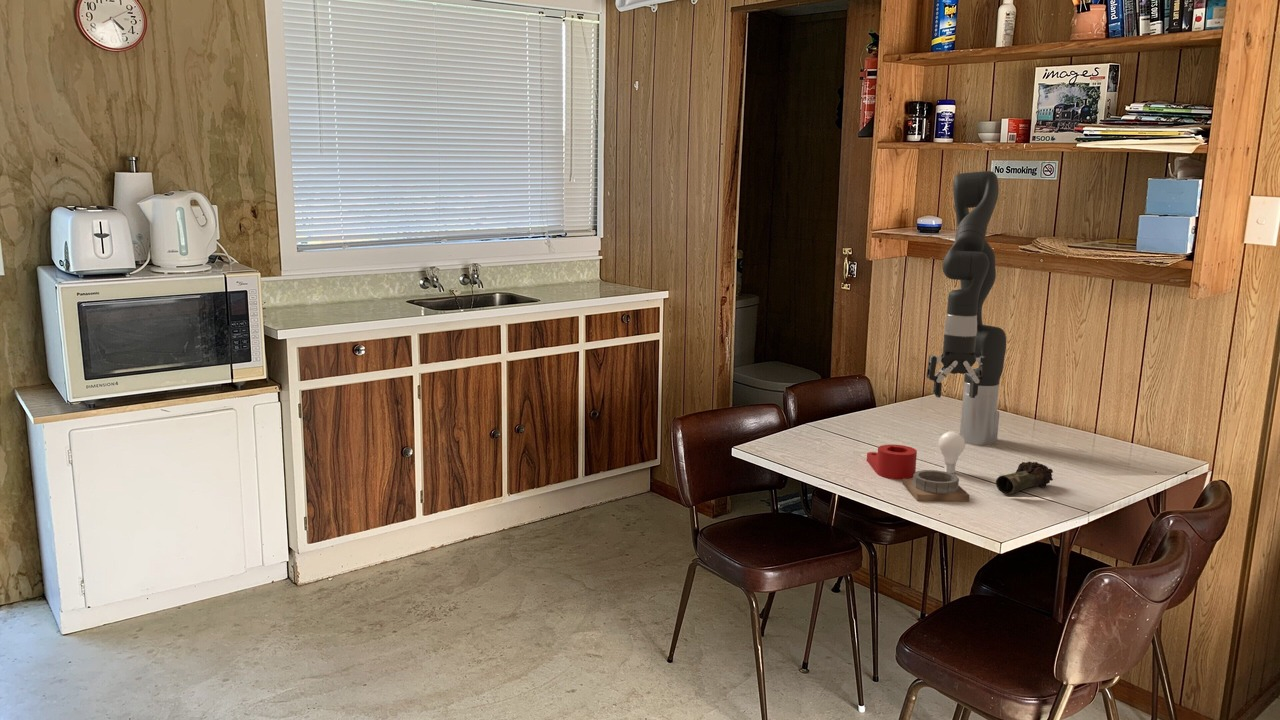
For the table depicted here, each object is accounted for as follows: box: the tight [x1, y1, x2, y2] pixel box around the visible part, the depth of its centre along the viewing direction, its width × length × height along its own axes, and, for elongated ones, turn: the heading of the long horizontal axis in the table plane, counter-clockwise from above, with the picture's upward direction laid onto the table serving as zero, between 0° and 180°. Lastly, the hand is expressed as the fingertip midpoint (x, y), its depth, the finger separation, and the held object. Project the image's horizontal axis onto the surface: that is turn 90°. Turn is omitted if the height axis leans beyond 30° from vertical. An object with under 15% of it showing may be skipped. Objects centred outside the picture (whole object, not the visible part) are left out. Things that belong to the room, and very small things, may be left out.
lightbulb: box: [938, 430, 966, 474], centre depth 242 cm, size 6×6×11 cm
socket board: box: [901, 469, 970, 502], centre depth 228 cm, size 12×12×4 cm
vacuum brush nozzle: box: [995, 461, 1054, 496], centre depth 231 cm, size 18×7×6 cm, turn 125°
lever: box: [866, 444, 918, 481], centre depth 246 cm, size 18×9×7 cm, turn 15°
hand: (954, 397), depth 240 cm, fingers open, 8 cm apart
